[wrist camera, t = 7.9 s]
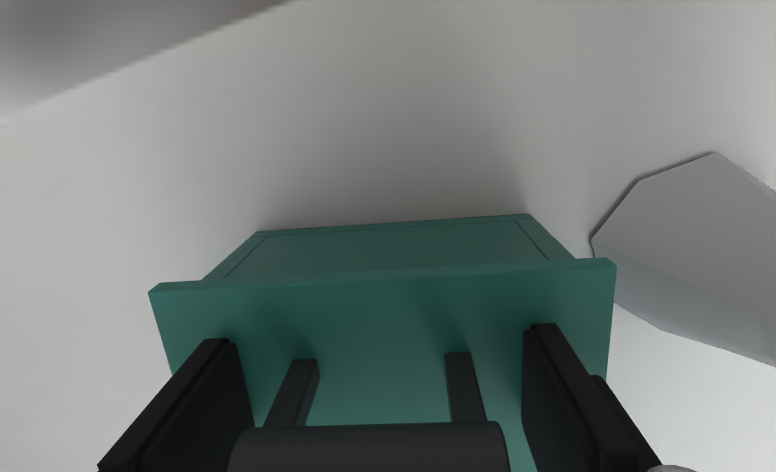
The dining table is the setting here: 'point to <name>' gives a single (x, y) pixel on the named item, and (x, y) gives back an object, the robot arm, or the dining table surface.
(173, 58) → the dining table surface
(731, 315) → the flask
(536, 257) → the box
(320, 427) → the lunchbox lid
